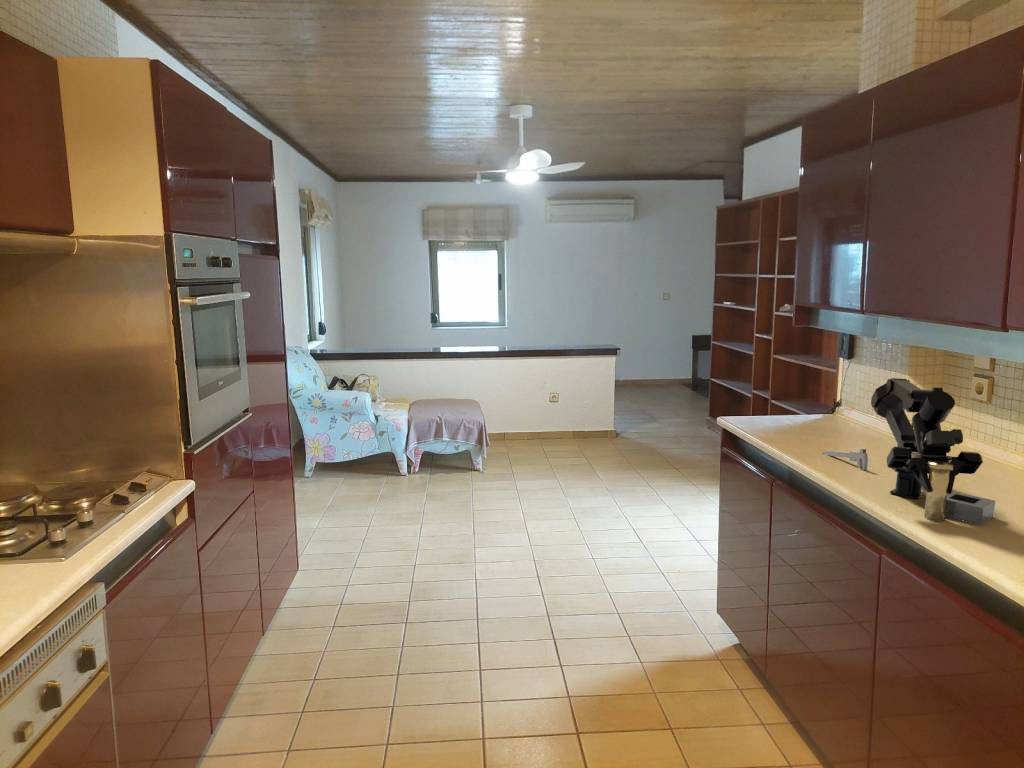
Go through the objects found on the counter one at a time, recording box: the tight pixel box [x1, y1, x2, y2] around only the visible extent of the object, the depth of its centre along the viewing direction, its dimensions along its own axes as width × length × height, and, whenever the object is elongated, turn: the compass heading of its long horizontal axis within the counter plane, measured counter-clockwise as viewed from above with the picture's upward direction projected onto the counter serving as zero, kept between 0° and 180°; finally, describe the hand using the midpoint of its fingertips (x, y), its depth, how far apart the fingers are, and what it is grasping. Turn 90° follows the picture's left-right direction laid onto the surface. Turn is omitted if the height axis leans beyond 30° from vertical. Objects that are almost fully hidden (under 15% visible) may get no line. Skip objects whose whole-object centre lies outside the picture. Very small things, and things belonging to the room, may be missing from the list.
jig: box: [945, 490, 996, 526], centre depth 168 cm, size 9×10×4 cm
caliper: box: [821, 448, 869, 471], centre depth 215 cm, size 20×1×6 cm, turn 10°
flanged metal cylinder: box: [923, 461, 953, 522], centre depth 164 cm, size 5×5×13 cm
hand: (939, 492), depth 163 cm, fingers closed on flanged metal cylinder, 4 cm apart
